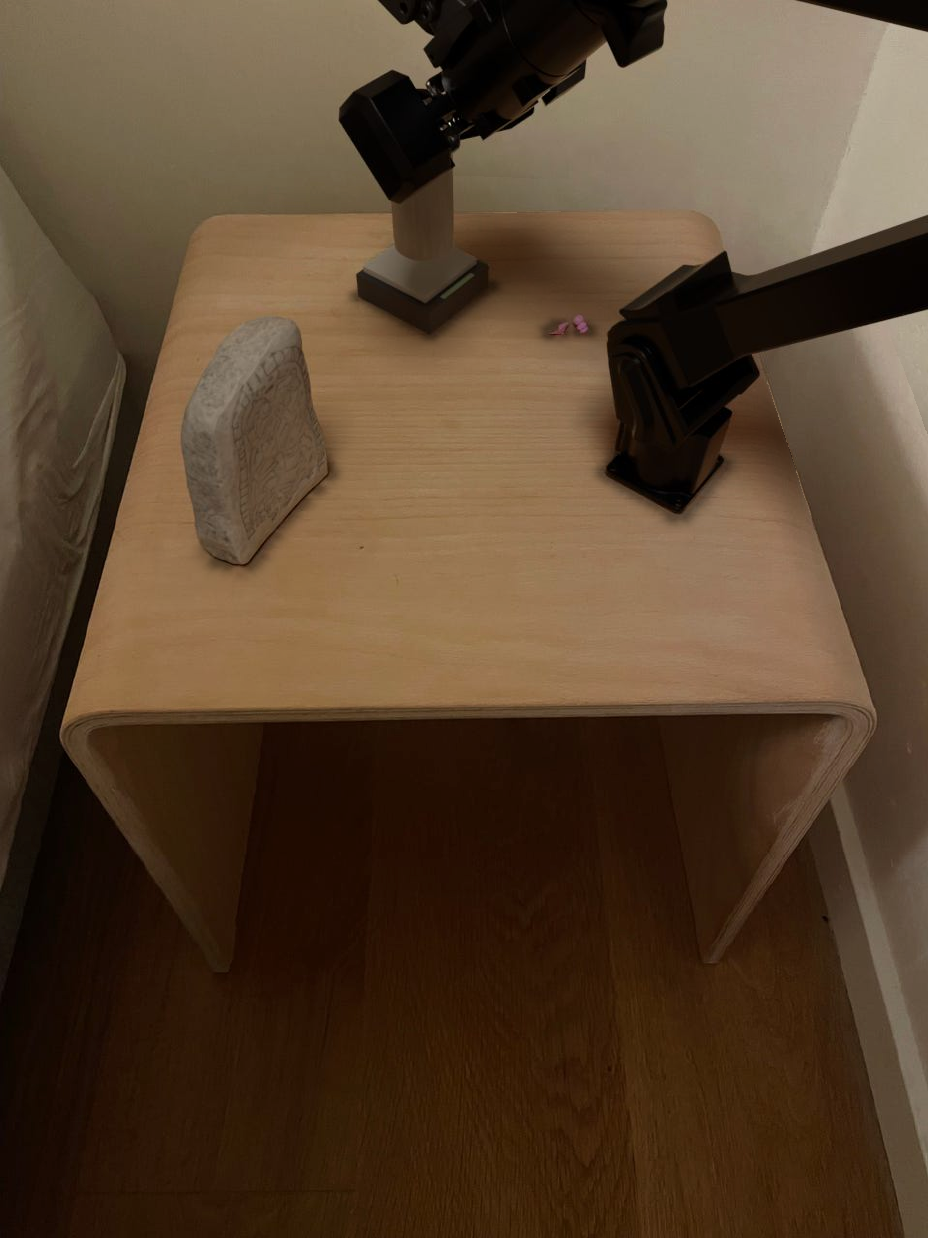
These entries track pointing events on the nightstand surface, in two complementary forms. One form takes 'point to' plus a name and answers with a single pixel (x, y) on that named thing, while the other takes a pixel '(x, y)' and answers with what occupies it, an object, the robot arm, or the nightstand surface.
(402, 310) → the scale
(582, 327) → the pink seashells
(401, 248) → the planter
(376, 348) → the nightstand surface
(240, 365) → the decorative stone
